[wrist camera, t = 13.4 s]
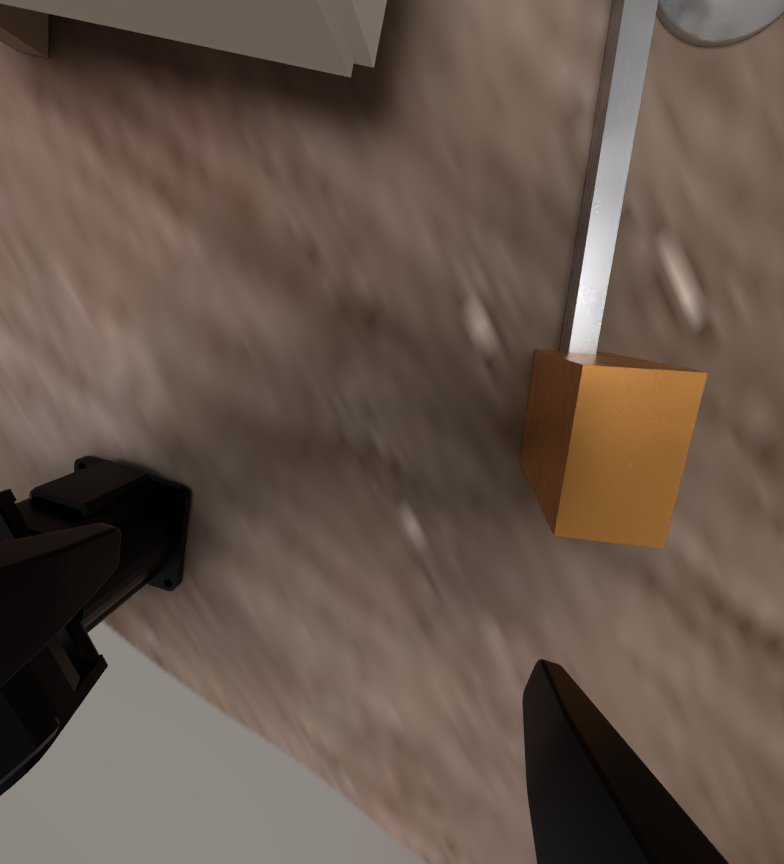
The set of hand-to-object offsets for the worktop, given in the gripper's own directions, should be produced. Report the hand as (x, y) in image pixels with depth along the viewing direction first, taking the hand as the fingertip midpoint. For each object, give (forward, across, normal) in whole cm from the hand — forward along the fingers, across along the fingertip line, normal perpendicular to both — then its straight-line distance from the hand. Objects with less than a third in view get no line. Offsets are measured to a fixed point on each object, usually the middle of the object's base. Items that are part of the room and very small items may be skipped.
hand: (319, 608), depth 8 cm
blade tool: (+11, -5, -11) cm, 17 cm away
